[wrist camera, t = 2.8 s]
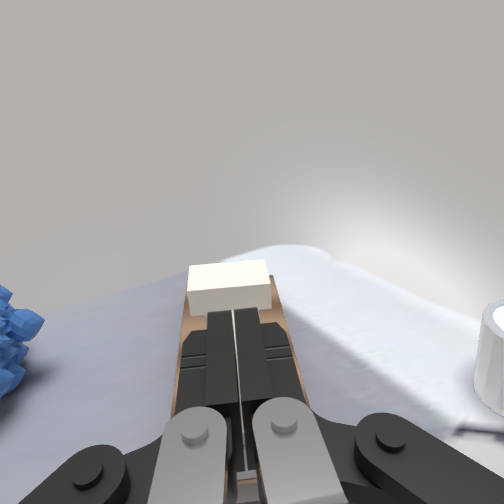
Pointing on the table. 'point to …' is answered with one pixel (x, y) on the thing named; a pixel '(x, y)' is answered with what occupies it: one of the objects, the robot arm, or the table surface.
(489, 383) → the white cylinder
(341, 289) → the table surface
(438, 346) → the table surface
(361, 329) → the table surface
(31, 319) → the grapes
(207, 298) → the fader
